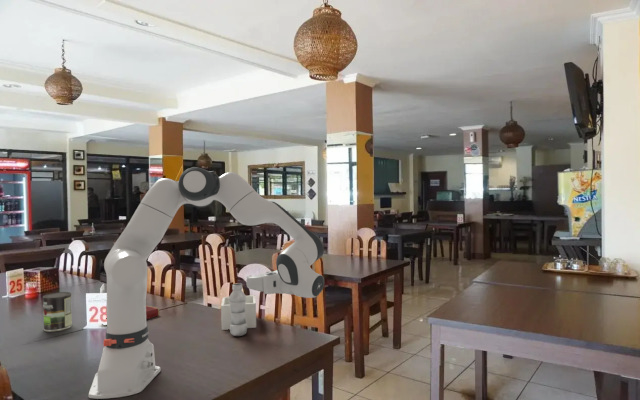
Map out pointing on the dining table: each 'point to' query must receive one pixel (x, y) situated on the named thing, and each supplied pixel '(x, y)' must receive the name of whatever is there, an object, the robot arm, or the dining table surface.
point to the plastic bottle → (237, 311)
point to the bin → (249, 312)
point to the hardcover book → (151, 312)
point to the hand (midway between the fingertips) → (258, 276)
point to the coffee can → (57, 311)
